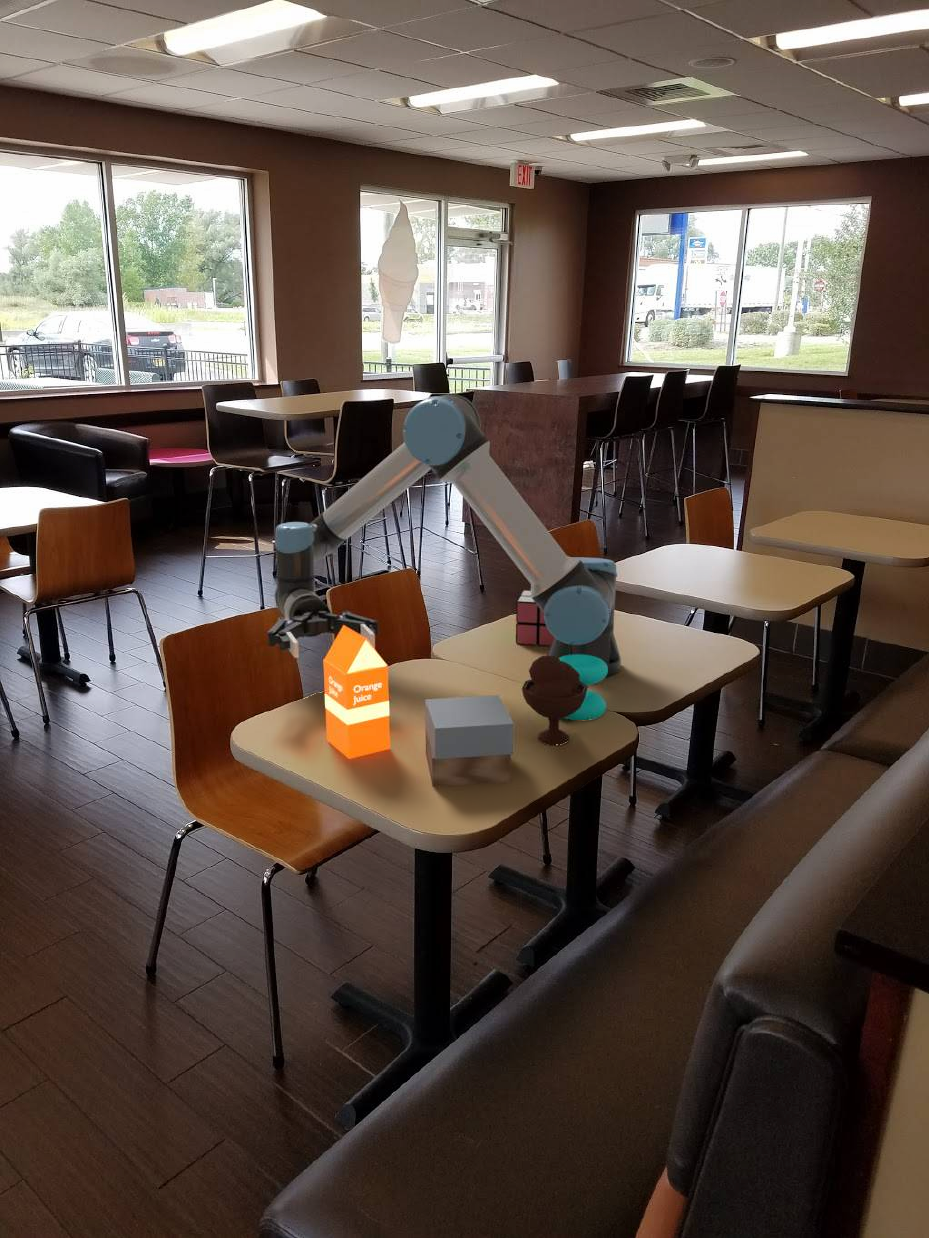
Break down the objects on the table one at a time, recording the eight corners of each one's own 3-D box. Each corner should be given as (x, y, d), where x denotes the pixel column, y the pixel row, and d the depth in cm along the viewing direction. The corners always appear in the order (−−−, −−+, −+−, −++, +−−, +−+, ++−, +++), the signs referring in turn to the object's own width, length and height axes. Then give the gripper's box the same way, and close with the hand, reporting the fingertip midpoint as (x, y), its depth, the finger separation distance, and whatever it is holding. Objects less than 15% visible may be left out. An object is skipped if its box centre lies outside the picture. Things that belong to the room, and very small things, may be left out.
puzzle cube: (560, 647, 206) (561, 603, 203) (515, 644, 208) (516, 601, 205) (564, 634, 216) (566, 592, 213) (521, 631, 217) (522, 590, 215)
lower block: (497, 751, 155) (498, 723, 153) (510, 783, 143) (510, 753, 142) (425, 755, 153) (425, 726, 152) (432, 788, 142) (432, 758, 140)
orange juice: (348, 759, 151) (343, 642, 145) (326, 740, 158) (320, 627, 152) (391, 748, 155) (388, 634, 149) (367, 730, 162) (363, 620, 156)
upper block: (497, 723, 153) (498, 695, 152) (513, 753, 142) (513, 723, 140) (425, 728, 151) (425, 699, 150) (435, 759, 140) (435, 728, 139)
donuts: (540, 658, 168) (581, 648, 173) (539, 710, 171) (580, 698, 176) (578, 674, 160) (619, 663, 166) (576, 728, 163) (617, 715, 169)
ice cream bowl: (569, 757, 151) (572, 670, 147) (509, 742, 157) (510, 658, 153) (596, 735, 160) (600, 652, 156) (538, 721, 166) (540, 641, 161)
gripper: (370, 625, 186) (403, 658, 167) (243, 638, 177) (264, 674, 158) (369, 589, 184) (403, 618, 165) (241, 600, 175) (261, 632, 156)
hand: (335, 645), depth 162 cm, fingers open, 13 cm apart
